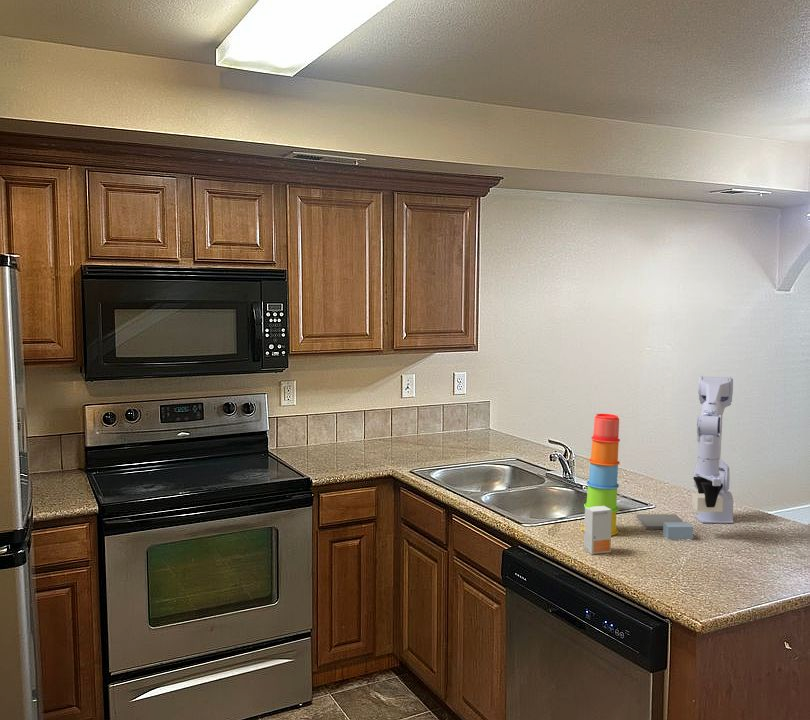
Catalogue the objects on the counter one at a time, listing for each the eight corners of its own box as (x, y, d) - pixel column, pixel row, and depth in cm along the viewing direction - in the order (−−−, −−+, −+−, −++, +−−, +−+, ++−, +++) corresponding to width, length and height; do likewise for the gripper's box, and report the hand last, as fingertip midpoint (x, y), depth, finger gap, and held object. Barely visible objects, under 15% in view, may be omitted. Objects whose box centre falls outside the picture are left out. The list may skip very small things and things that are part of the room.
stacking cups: (593, 523, 232) (594, 410, 229) (624, 531, 225) (626, 414, 222) (575, 531, 224) (576, 415, 221) (606, 539, 217) (608, 419, 214)
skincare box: (591, 555, 205) (592, 511, 204) (583, 550, 209) (584, 507, 208) (611, 552, 207) (612, 509, 206) (603, 547, 211) (603, 505, 210)
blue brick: (687, 535, 221) (687, 521, 220) (692, 540, 216) (693, 526, 216) (663, 535, 221) (663, 522, 221) (668, 540, 216) (668, 526, 216)
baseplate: (675, 517, 237) (675, 514, 237) (687, 529, 225) (688, 526, 225) (636, 517, 238) (636, 514, 238) (646, 529, 226) (646, 526, 226)
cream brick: (716, 507, 220) (717, 493, 220) (722, 511, 216) (722, 497, 215) (692, 507, 221) (692, 493, 220) (697, 511, 216) (697, 497, 216)
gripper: (686, 452, 224) (685, 497, 226) (702, 463, 210) (701, 511, 211) (710, 452, 224) (709, 497, 225) (729, 463, 209) (727, 511, 211)
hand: (707, 504), depth 218 cm, fingers closed on cream brick, 4 cm apart
